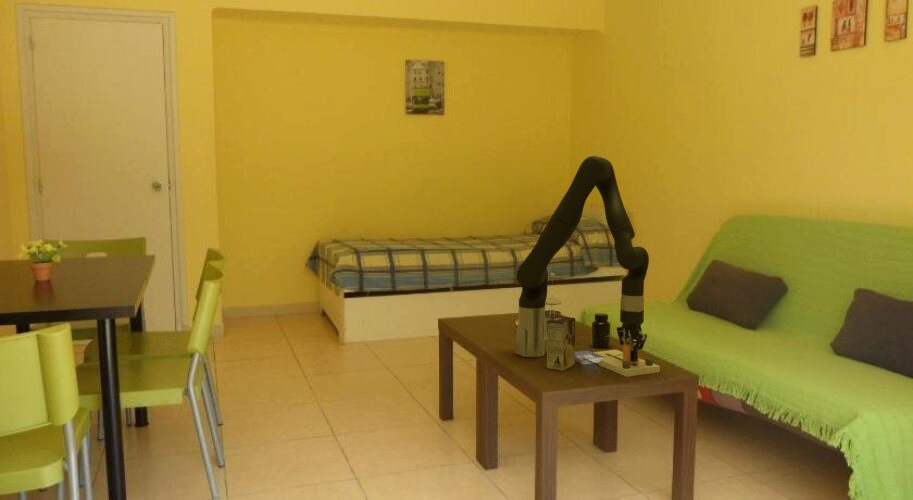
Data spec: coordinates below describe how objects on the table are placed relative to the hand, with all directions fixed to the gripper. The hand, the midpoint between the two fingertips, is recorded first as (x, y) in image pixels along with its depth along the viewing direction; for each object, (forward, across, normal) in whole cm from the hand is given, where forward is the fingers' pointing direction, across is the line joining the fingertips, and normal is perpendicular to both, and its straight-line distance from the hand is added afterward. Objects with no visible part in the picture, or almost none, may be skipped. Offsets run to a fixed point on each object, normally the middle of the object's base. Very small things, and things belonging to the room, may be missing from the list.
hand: (630, 360), depth 253 cm
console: (+3, -5, 0) cm, 6 cm away
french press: (+3, -50, 0) cm, 51 cm away
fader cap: (+1, 0, 0) cm, 1 cm away
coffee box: (+3, -12, -19) cm, 23 cm away
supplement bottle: (+3, -30, +9) cm, 32 cm away
